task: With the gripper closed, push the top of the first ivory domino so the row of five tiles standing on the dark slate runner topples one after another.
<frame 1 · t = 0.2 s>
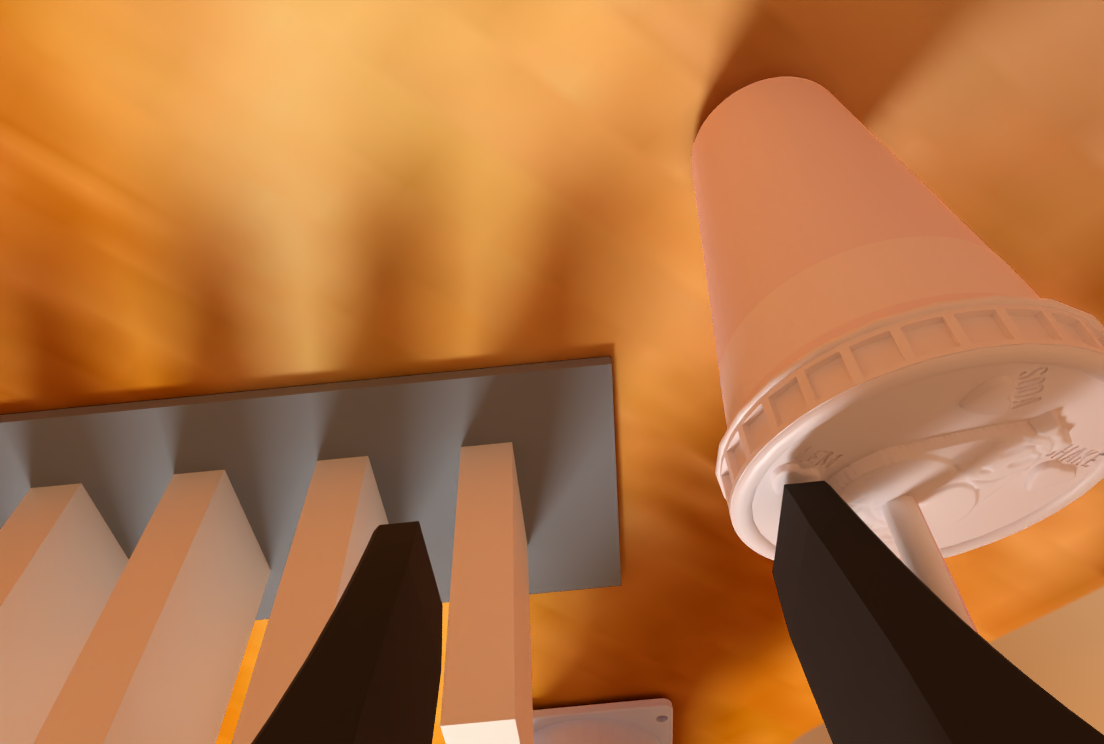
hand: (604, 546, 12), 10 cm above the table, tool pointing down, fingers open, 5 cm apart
runner mat: (228, 516, 25), on the table
domino 1: (496, 499, 25), resting on runner mat
domino 2: (360, 512, 25), resting on runner mat
domino 4: (89, 538, 25), resting on runner mat
smoothie: (764, 143, 18), on the table, touching gripper
domino 3: (224, 525, 25), resting on runner mat
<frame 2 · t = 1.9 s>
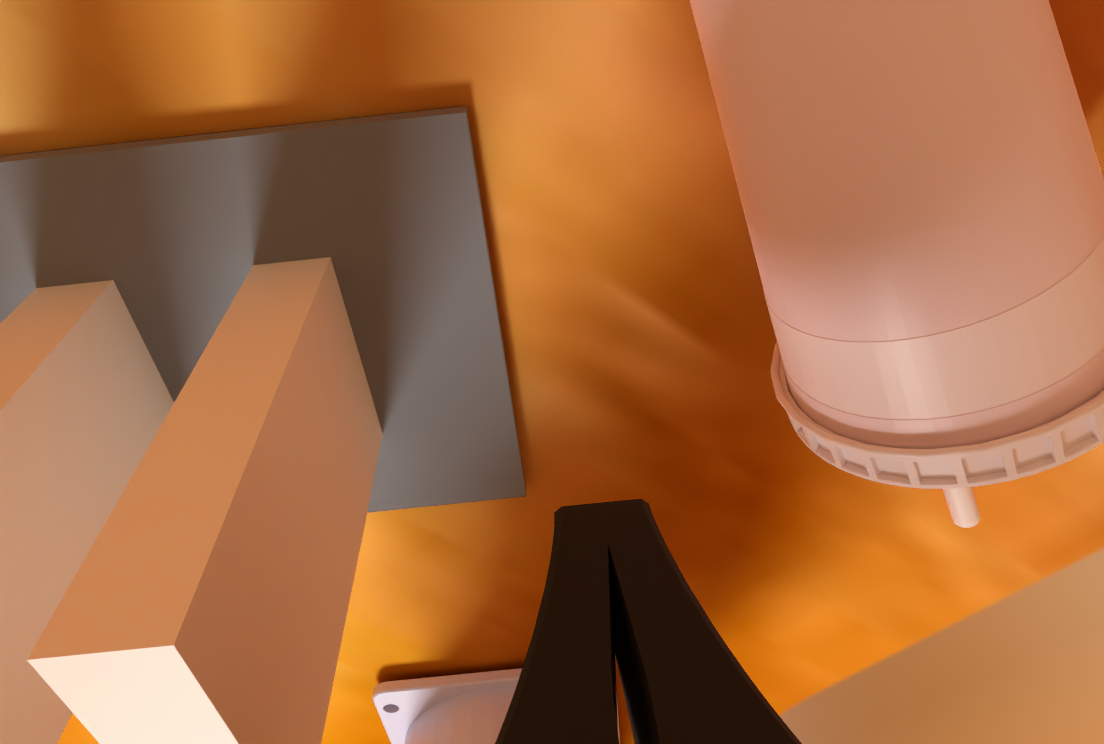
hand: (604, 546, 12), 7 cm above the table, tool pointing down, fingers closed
domino 1: (323, 356, 17), resting on runner mat
domino 2: (124, 377, 17), resting on runner mat
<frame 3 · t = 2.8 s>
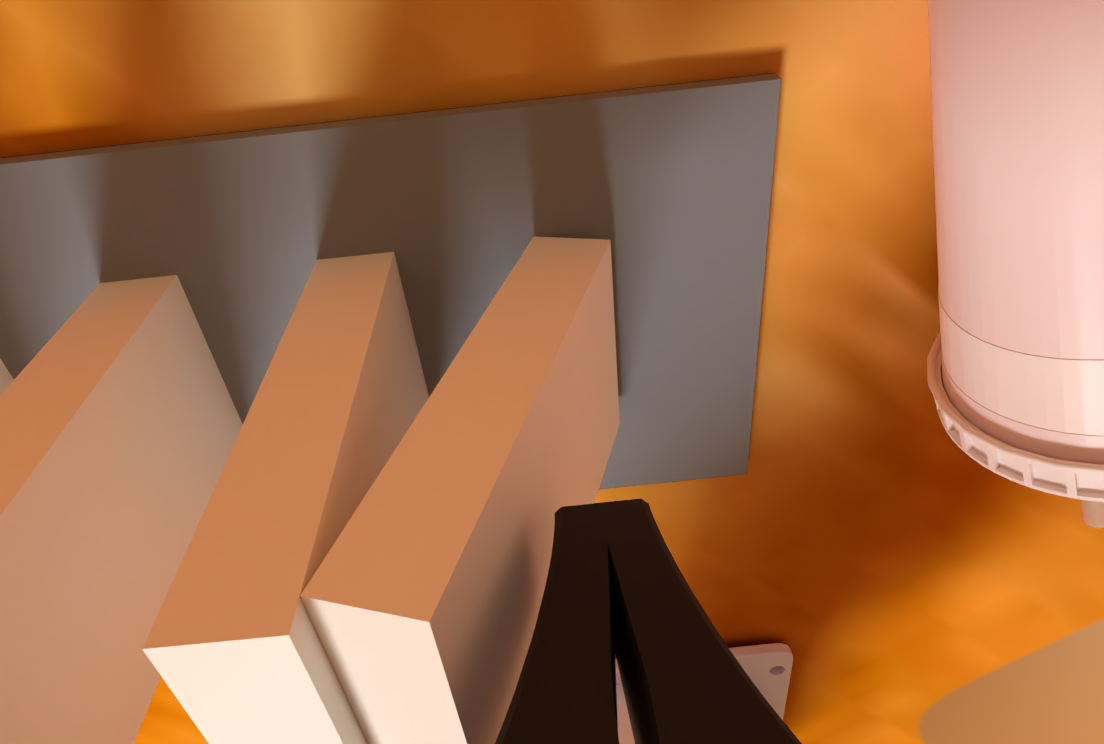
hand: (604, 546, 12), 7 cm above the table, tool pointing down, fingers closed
runner mat: (189, 362, 17), on the table
domino 1: (579, 337, 16), point 1 cm above the table, tilted 19°, touching runner mat
domino 2: (381, 351, 17), resting on runner mat
domino 3: (183, 372, 17), resting on runner mat
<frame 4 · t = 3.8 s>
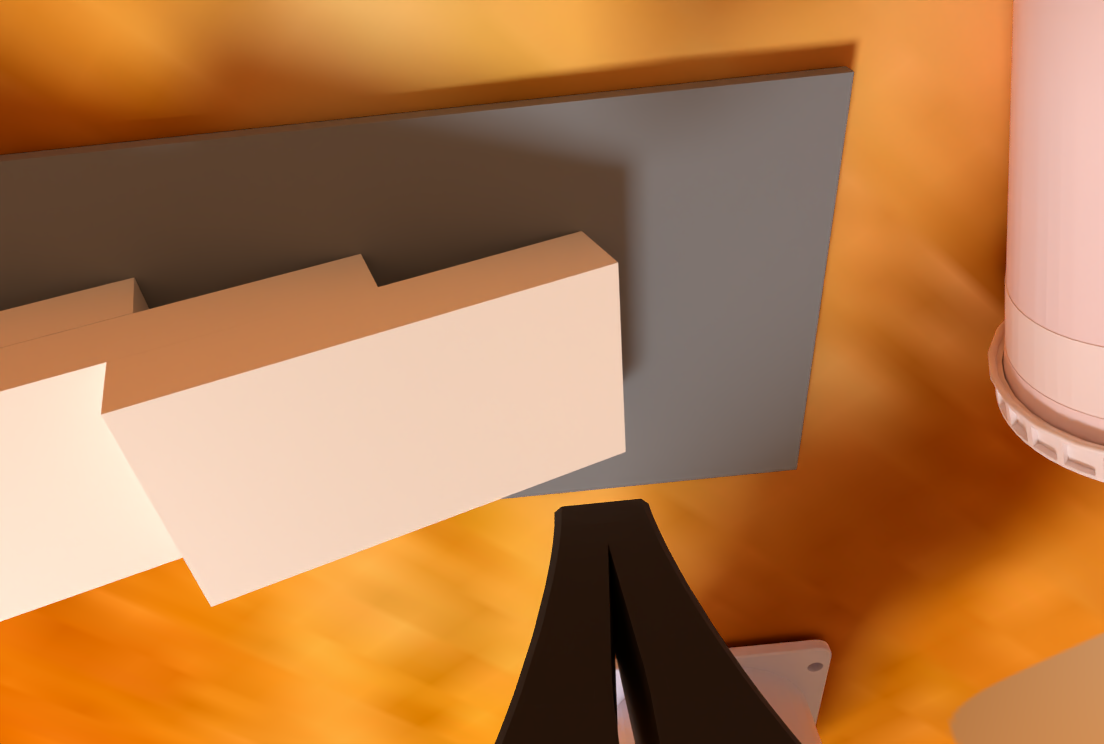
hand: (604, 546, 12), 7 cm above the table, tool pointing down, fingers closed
runner mat: (245, 354, 17), on the table
domino 1: (604, 346, 16), point 1 cm above the table, tilted 69°, touching domino 2, runner mat
domino 2: (394, 368, 16), point 1 cm above the table, tilted 69°, touching domino 1, domino 3, runner mat
domino 3: (179, 390, 16), point 1 cm above the table, tilted 69°, touching domino 2, domino 4, runner mat
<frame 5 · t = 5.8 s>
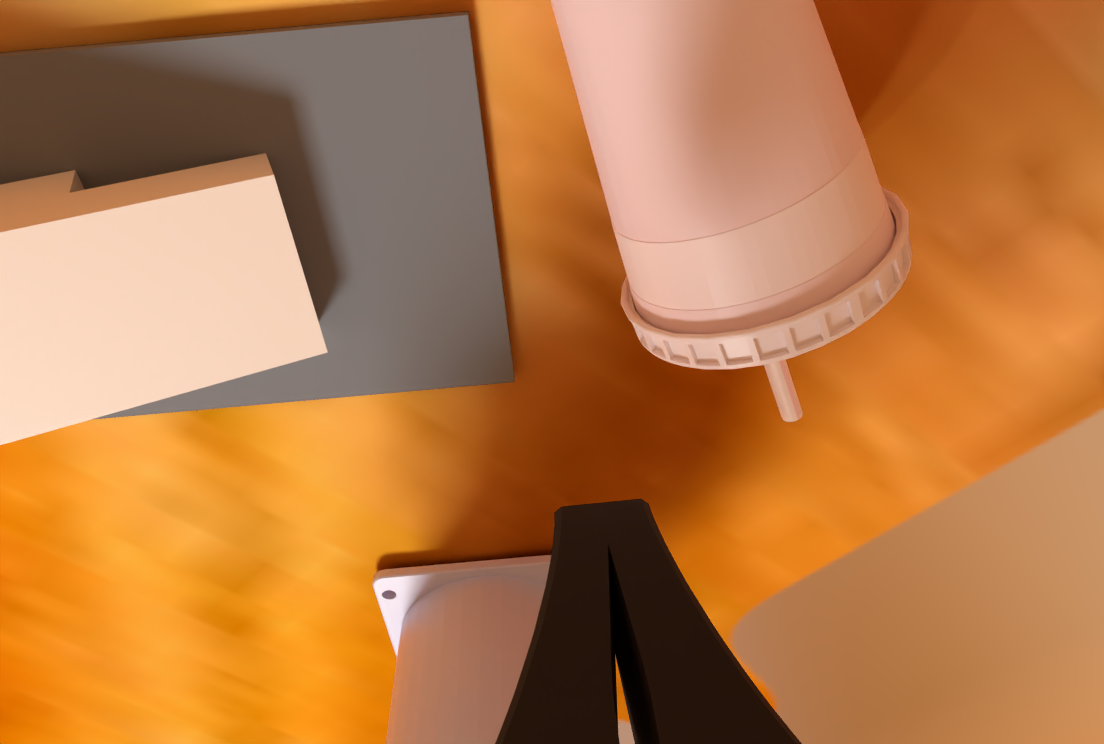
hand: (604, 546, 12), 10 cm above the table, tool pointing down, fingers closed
domino 1: (298, 257, 19), point 1 cm above the table, tilted 69°, touching domino 2, runner mat
domino 2: (116, 273, 19), point 1 cm above the table, tilted 69°, touching domino 1, domino 3, runner mat
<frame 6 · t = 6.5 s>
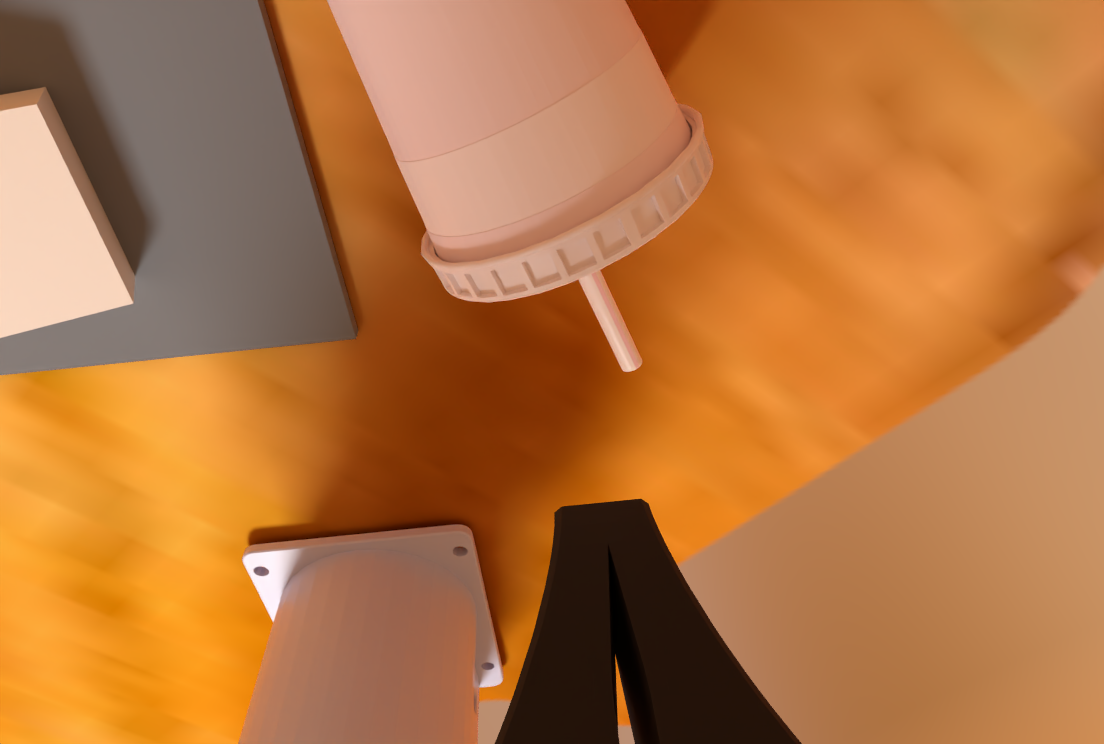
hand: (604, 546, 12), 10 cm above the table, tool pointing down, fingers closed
domino 1: (91, 200, 17), point 1 cm above the table, tilted 69°, touching domino 2
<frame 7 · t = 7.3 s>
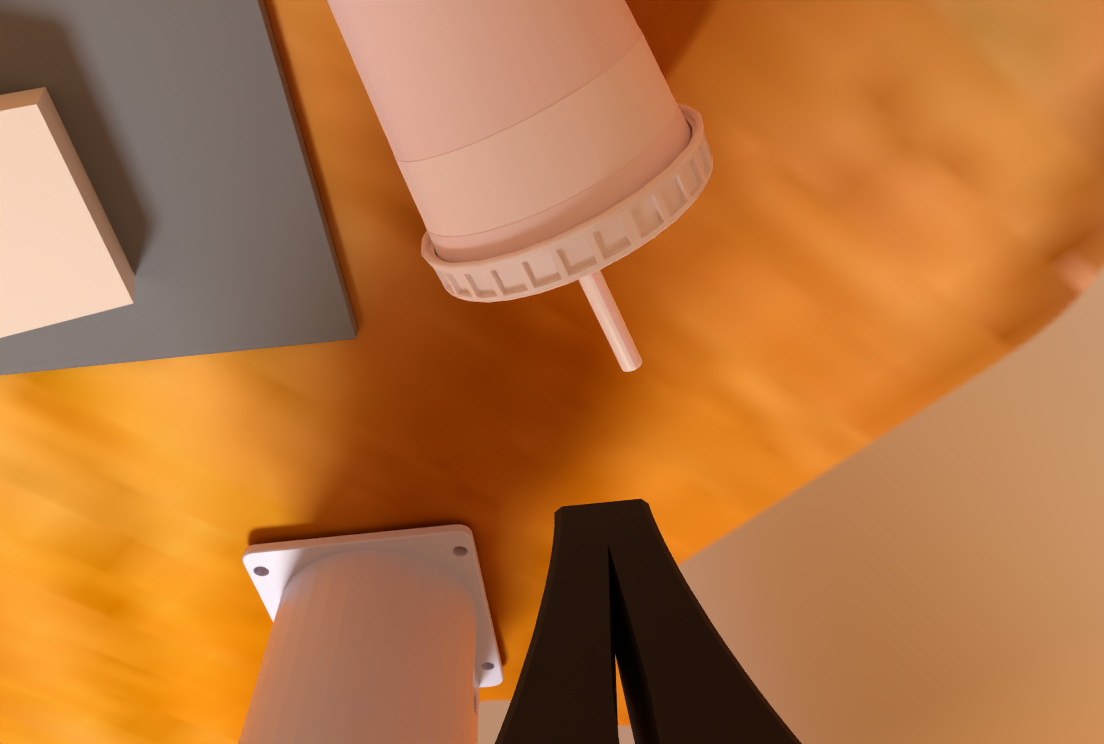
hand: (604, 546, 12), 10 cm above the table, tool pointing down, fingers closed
domino 1: (91, 200, 17), point 1 cm above the table, tilted 69°, touching domino 2, runner mat
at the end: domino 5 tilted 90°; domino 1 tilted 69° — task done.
